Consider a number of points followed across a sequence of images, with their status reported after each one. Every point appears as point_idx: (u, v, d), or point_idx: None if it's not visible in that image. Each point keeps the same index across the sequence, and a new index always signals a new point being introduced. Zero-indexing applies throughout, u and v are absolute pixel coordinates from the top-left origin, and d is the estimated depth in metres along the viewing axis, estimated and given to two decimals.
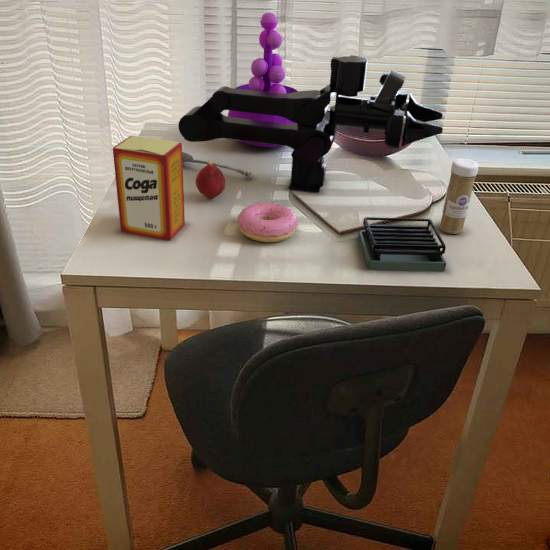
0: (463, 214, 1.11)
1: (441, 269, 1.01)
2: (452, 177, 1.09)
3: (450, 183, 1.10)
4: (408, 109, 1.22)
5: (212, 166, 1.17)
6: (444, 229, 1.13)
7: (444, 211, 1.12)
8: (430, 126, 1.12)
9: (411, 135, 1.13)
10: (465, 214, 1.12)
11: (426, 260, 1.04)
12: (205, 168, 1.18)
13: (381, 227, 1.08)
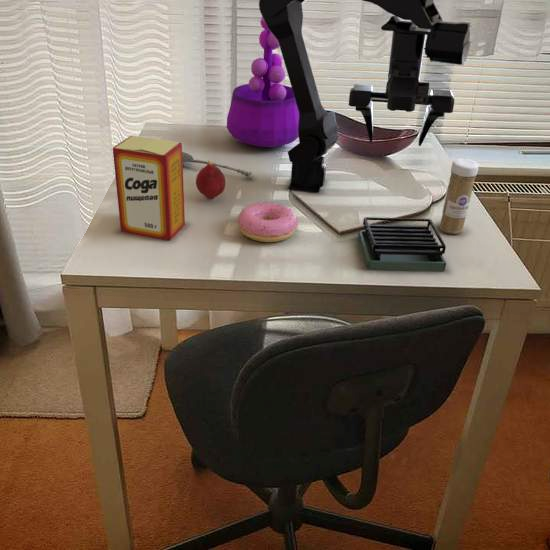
0: (463, 214, 1.11)
1: (441, 269, 1.01)
2: (452, 177, 1.09)
3: (450, 183, 1.10)
4: (427, 111, 1.12)
5: (212, 166, 1.17)
6: (444, 229, 1.13)
7: (444, 211, 1.12)
8: (367, 130, 1.15)
9: None
10: (465, 214, 1.12)
11: (426, 260, 1.04)
12: (205, 168, 1.18)
13: (381, 227, 1.08)
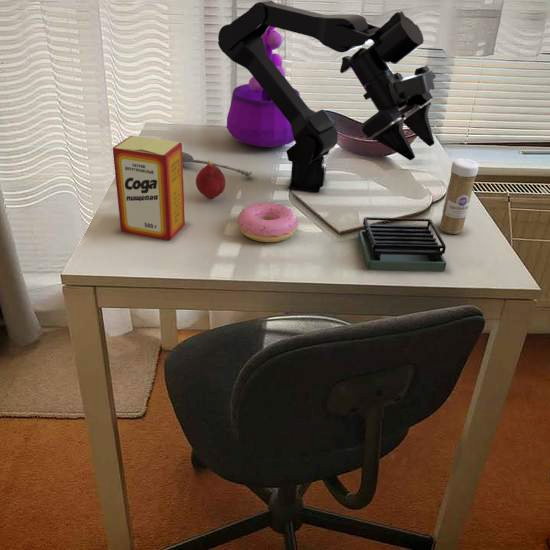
0: (463, 214, 1.11)
1: (441, 269, 1.01)
2: (452, 177, 1.09)
3: (450, 183, 1.10)
4: (416, 113, 1.15)
5: (212, 166, 1.17)
6: (444, 229, 1.13)
7: (444, 211, 1.12)
8: (407, 147, 1.07)
9: (388, 138, 1.08)
10: (465, 214, 1.12)
11: (426, 260, 1.04)
12: (205, 168, 1.18)
13: (381, 227, 1.08)
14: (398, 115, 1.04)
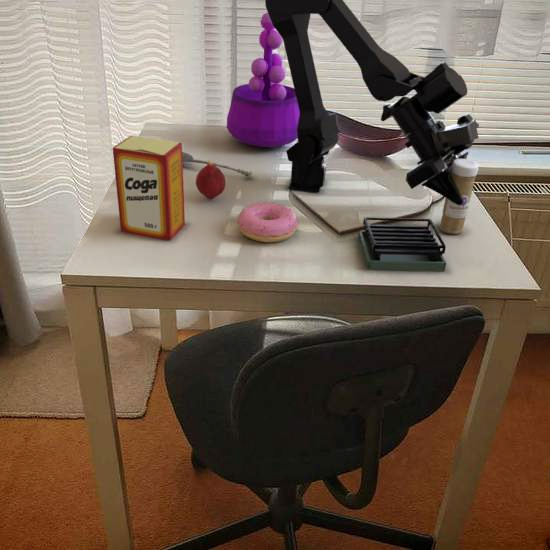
0: (463, 214, 1.11)
1: (441, 269, 1.01)
2: (452, 177, 1.09)
3: None
4: None
5: (212, 166, 1.17)
6: (444, 229, 1.13)
7: (444, 211, 1.12)
8: (455, 192, 1.08)
9: (436, 183, 1.09)
10: (465, 214, 1.12)
11: (426, 260, 1.04)
12: (205, 168, 1.18)
13: (381, 227, 1.08)
14: (443, 166, 1.04)
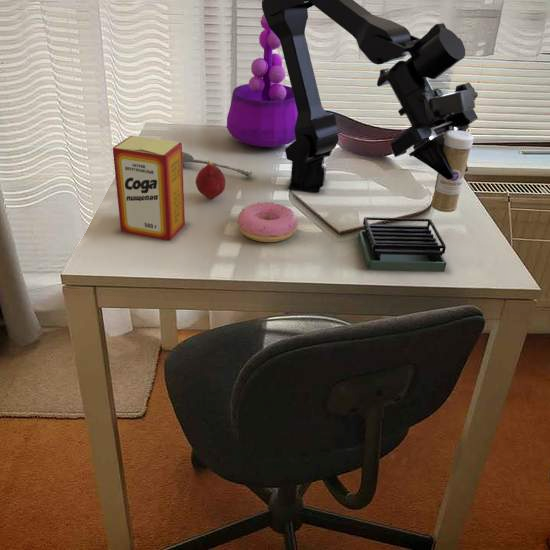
0: (454, 191, 1.03)
1: (441, 269, 1.01)
2: (444, 149, 1.01)
3: None
4: None
5: (212, 166, 1.17)
6: (434, 206, 1.06)
7: (435, 186, 1.05)
8: (445, 165, 1.01)
9: (426, 154, 1.02)
10: (457, 191, 1.04)
11: (426, 260, 1.04)
12: (205, 168, 1.18)
13: (381, 227, 1.08)
14: (429, 134, 0.97)
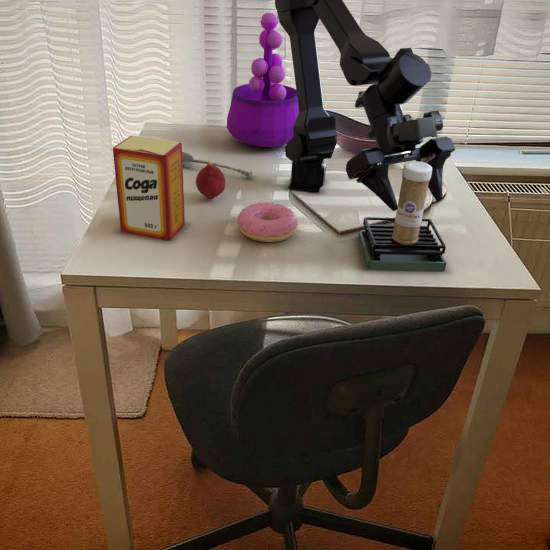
0: (410, 223, 1.00)
1: (441, 269, 1.01)
2: (402, 179, 0.99)
3: (401, 186, 0.99)
4: (429, 162, 1.02)
5: (212, 166, 1.17)
6: (393, 236, 1.03)
7: None
8: (388, 196, 0.96)
9: (373, 182, 0.98)
10: (414, 224, 1.00)
11: (426, 260, 1.04)
12: (205, 168, 1.18)
13: (381, 227, 1.08)
14: (380, 159, 0.95)
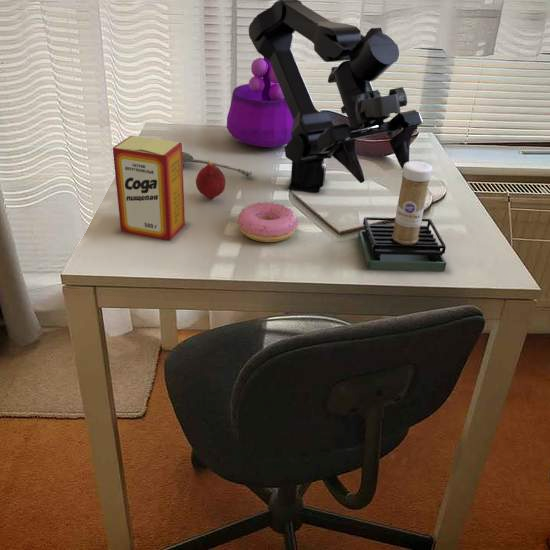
0: (410, 223, 1.00)
1: (441, 269, 1.01)
2: (402, 179, 0.99)
3: (401, 186, 0.99)
4: (398, 135, 1.08)
5: (212, 166, 1.17)
6: (393, 236, 1.03)
7: None
8: (355, 169, 1.04)
9: (342, 156, 1.06)
10: (414, 224, 1.00)
11: (426, 260, 1.04)
12: (205, 168, 1.18)
13: (381, 227, 1.08)
14: (346, 135, 1.02)
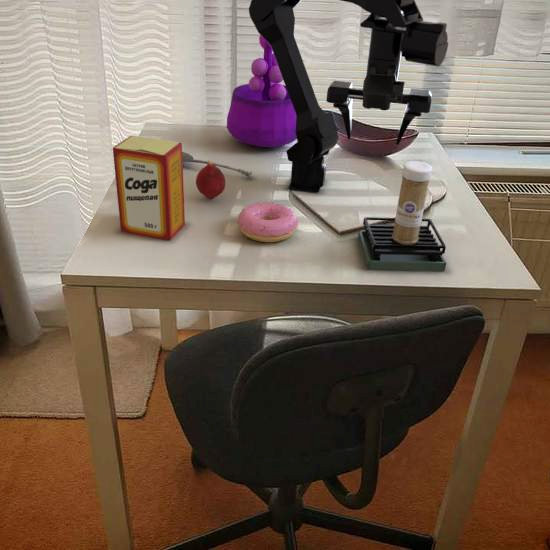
0: (410, 223, 1.00)
1: (441, 269, 1.01)
2: (402, 179, 0.99)
3: (401, 186, 0.99)
4: (405, 110, 1.12)
5: (212, 166, 1.17)
6: (393, 236, 1.03)
7: (395, 217, 1.02)
8: (345, 127, 1.15)
9: None
10: (414, 224, 1.00)
11: (426, 260, 1.04)
12: (205, 168, 1.18)
13: (381, 227, 1.08)
14: (341, 102, 1.11)
